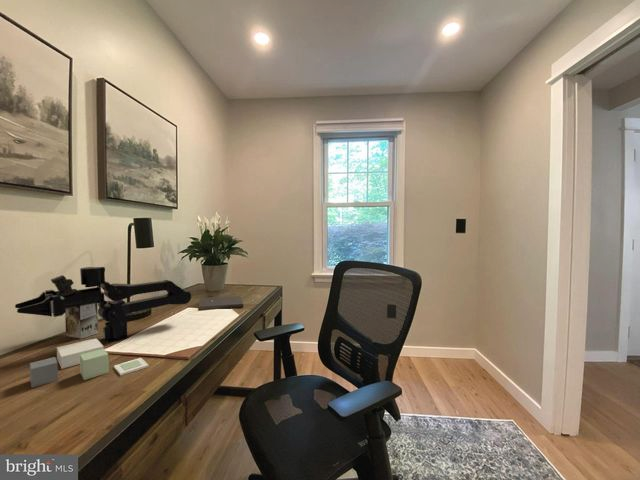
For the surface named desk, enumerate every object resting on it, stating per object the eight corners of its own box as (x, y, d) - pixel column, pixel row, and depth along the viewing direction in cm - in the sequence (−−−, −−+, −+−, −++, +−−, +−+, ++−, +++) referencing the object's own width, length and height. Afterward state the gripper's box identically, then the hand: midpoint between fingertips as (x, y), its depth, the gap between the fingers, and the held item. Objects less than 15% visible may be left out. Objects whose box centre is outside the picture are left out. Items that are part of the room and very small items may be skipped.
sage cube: (104, 366, 84) (103, 348, 84) (108, 372, 80) (108, 354, 80) (80, 373, 80) (79, 354, 80) (84, 380, 76) (83, 360, 76)
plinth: (96, 349, 96) (96, 338, 96) (103, 358, 90) (103, 346, 90) (57, 359, 89) (56, 347, 89) (61, 370, 82) (61, 356, 82)
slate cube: (55, 374, 79) (55, 356, 79) (57, 380, 76) (57, 362, 76) (30, 381, 76) (29, 363, 76) (31, 388, 72) (31, 369, 72)
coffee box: (98, 333, 110) (98, 292, 110) (80, 339, 104) (79, 296, 104) (83, 330, 113) (82, 291, 113) (64, 336, 107) (63, 294, 107)
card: (140, 359, 88) (140, 357, 88) (148, 366, 84) (148, 364, 84) (114, 367, 83) (114, 365, 83) (120, 375, 79) (120, 373, 79)
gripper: (74, 272, 103) (12, 279, 91) (86, 277, 91) (16, 285, 79) (77, 302, 104) (15, 313, 92) (88, 310, 92) (19, 324, 80)
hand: (16, 308), depth 85 cm, fingers open, 9 cm apart
